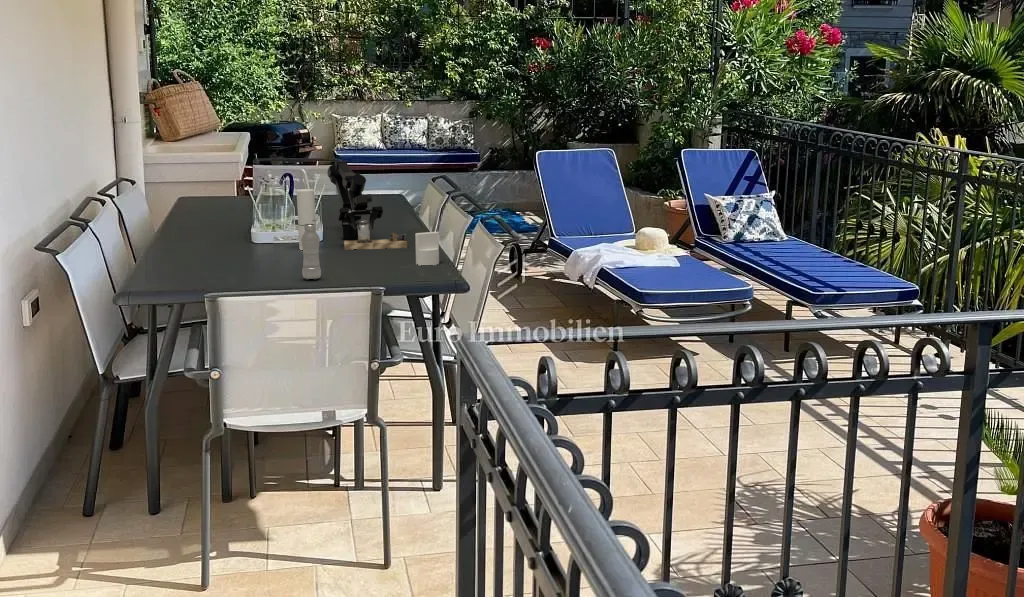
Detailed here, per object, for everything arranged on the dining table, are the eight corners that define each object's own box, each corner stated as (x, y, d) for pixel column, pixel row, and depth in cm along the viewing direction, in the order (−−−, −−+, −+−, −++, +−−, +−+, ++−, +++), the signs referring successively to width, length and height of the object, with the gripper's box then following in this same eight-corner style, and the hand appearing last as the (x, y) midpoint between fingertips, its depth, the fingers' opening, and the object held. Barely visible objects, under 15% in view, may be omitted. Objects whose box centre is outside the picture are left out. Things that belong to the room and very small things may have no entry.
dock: (344, 249, 422) (344, 236, 421) (344, 246, 430) (343, 233, 428) (407, 247, 427) (406, 234, 425) (405, 244, 434) (405, 231, 433)
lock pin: (389, 241, 427) (389, 235, 427) (389, 240, 430) (389, 234, 429) (406, 240, 429) (406, 234, 428) (406, 239, 431) (405, 233, 431)
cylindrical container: (320, 249, 424) (317, 189, 418) (310, 252, 417) (307, 191, 412) (306, 247, 427) (303, 188, 421) (295, 250, 420) (292, 190, 415)
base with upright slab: (421, 266, 388) (420, 235, 385) (412, 262, 396) (411, 232, 393) (442, 264, 392) (442, 233, 389) (433, 260, 400) (433, 230, 397)
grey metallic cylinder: (358, 248, 424) (357, 221, 422) (357, 246, 430) (356, 219, 427) (371, 248, 425) (370, 221, 423) (370, 246, 431) (369, 219, 428)
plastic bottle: (303, 277, 368) (300, 223, 363) (322, 277, 368) (320, 223, 364) (301, 281, 362) (298, 226, 357) (320, 281, 362) (318, 225, 357)
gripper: (338, 189, 422) (345, 219, 414) (381, 186, 429) (389, 216, 422) (334, 205, 430) (341, 235, 423) (376, 202, 438) (384, 232, 430)
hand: (364, 229), depth 424 cm, fingers open, 7 cm apart
